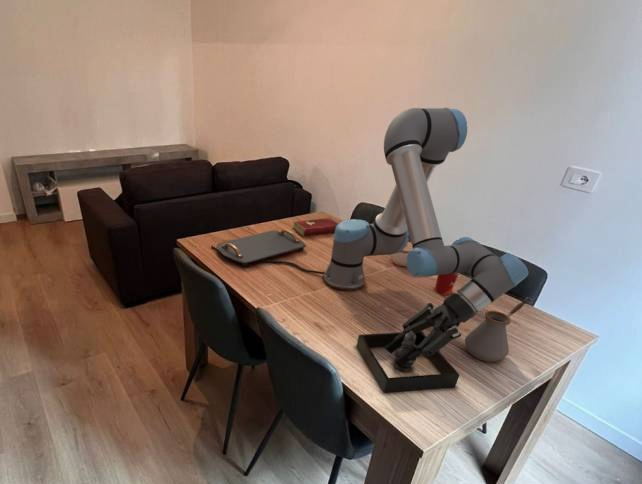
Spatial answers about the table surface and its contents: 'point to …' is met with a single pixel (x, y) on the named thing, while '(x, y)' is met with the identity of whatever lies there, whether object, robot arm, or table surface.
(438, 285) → the paper cup
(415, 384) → the black square frame
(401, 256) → the trinket box
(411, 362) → the chess piece
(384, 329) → the table surface
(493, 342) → the coffee pot
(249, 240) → the serving tray
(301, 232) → the hardcover book
